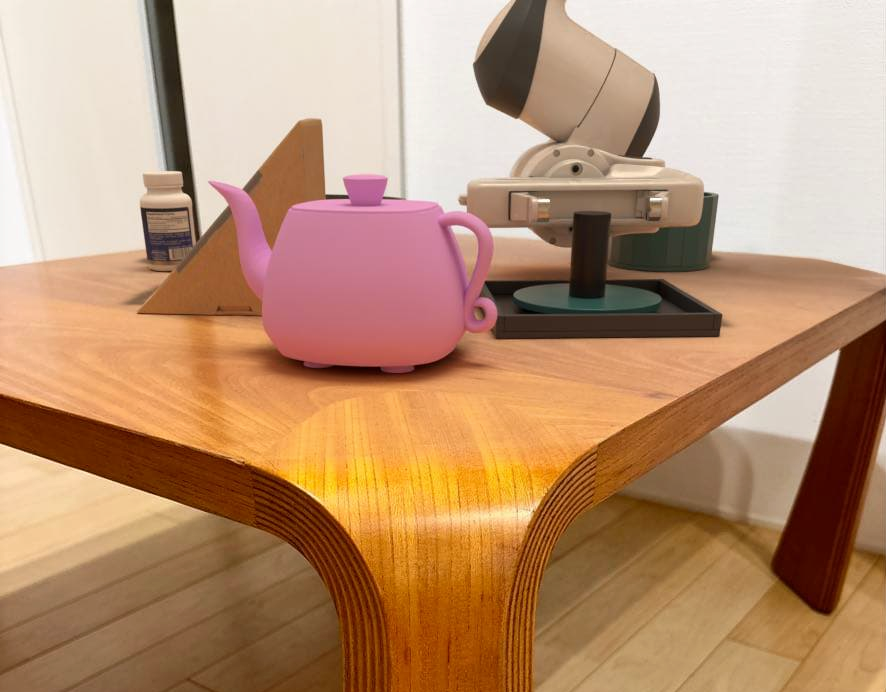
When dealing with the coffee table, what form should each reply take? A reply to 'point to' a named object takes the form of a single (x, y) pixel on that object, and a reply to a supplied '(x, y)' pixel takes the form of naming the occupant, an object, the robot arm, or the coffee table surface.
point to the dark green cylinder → (669, 245)
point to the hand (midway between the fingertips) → (599, 210)
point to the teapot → (364, 277)
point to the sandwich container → (216, 253)
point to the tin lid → (587, 278)
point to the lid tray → (670, 320)
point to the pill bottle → (166, 220)
